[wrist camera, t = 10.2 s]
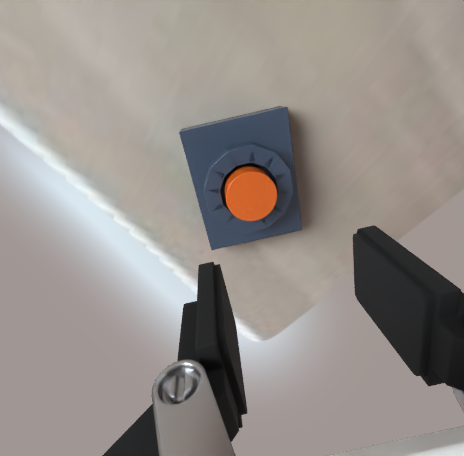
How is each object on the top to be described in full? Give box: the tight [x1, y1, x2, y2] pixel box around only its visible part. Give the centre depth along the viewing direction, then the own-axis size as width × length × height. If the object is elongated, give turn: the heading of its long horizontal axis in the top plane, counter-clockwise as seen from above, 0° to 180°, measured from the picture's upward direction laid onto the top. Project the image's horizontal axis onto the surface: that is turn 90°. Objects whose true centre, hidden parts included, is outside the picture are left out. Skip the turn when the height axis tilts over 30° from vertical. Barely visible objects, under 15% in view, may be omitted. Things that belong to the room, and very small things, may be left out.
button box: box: [179, 106, 302, 250], centre depth 23 cm, size 10×8×4 cm
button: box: [224, 166, 277, 221], centre depth 21 cm, size 4×4×2 cm
